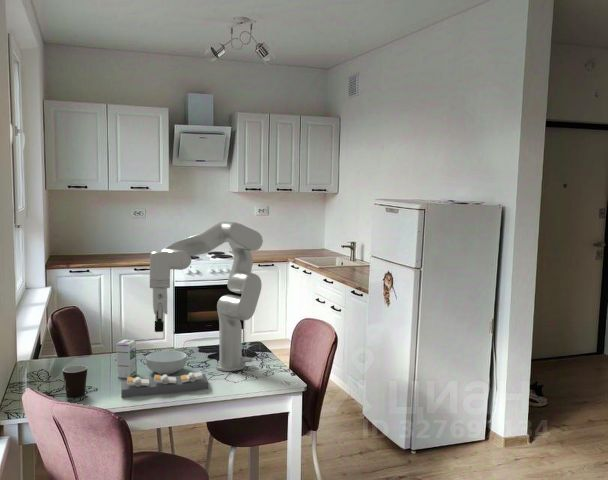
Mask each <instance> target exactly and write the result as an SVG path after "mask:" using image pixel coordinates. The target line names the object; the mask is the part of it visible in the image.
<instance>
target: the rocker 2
mask: <svg viewBox="0 0 608 480" xmlns="http://www.w3.org/2000/svg"><path fill="white" fill-rule="evenodd" d="M202 374H203V373H202V371H198V372H192V371H191V372H189V373H188V374H183V375H180V376H181V380H182V383H183V382H187V381H191V382H194V381H195V379H199V378H203V375H202Z"/></svg>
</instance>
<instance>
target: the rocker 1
mask: <svg viewBox="0 0 608 480" xmlns="http://www.w3.org/2000/svg"><path fill="white" fill-rule="evenodd" d="M149 379H150V378H141V376H136V377H134V376H132V377H127V378H126V381H127V384H132V385H135V386H137V387H139V386H141V385H145V386H149Z"/></svg>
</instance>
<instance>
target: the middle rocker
mask: <svg viewBox="0 0 608 480" xmlns="http://www.w3.org/2000/svg"><path fill="white" fill-rule="evenodd" d="M153 378H154V380H155V382H163V384H168V383H176V377H174V376H169V375H166V374H165V375H161V374H154V376H153Z"/></svg>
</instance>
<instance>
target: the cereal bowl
mask: <svg viewBox="0 0 608 480" xmlns="http://www.w3.org/2000/svg"><path fill="white" fill-rule="evenodd" d="M187 355H188V354H187V353H186V352H183V351H179V350H157V351H153V352H151V353H149V354H147V355H146V357H145V363H146V366H147V368H148V369H149V370H150V371H151V372H154V373H156V374H157V375H160V376H163V375H165V374H166V375H167V376H169V375H173V374H175V373H176V372H179V371H181V370H182V369H184V367H185V366H186V363H187V359H188V357H187Z"/></svg>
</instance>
